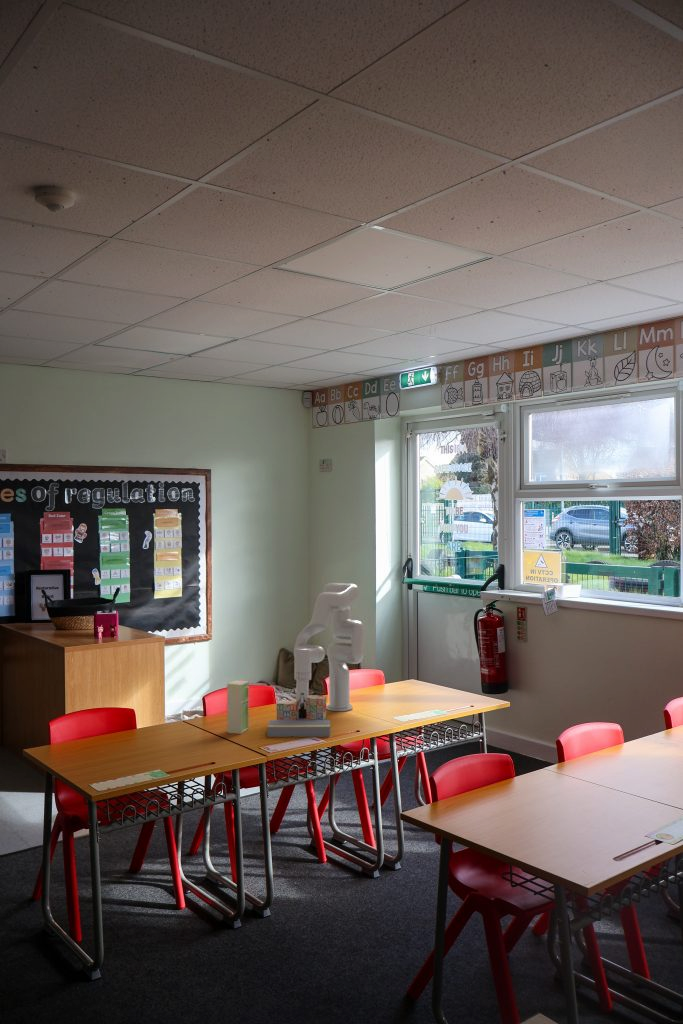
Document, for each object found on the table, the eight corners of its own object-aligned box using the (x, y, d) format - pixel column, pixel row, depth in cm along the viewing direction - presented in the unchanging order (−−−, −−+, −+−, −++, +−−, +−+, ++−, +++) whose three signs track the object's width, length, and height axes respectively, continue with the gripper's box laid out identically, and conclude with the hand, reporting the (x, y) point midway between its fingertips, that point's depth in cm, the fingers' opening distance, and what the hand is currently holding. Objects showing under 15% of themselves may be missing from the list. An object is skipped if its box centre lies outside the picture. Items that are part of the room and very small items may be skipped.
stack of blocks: (276, 724, 377) (276, 696, 377) (280, 721, 383) (280, 693, 383) (323, 726, 372) (323, 698, 373) (326, 723, 379) (326, 695, 379)
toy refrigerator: (242, 734, 360) (242, 684, 360) (226, 733, 362) (226, 683, 362) (250, 729, 367) (250, 681, 368) (235, 728, 370) (235, 680, 370)
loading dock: (269, 729, 368) (269, 719, 368) (330, 729, 368) (330, 719, 368) (267, 736, 356) (267, 726, 356) (329, 736, 356) (329, 726, 356)
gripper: (295, 672, 387) (295, 711, 386) (293, 679, 369) (293, 720, 369) (312, 672, 387) (311, 711, 386) (310, 679, 369) (310, 720, 369)
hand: (302, 715), depth 378 cm, fingers closed on stack of blocks, 7 cm apart
